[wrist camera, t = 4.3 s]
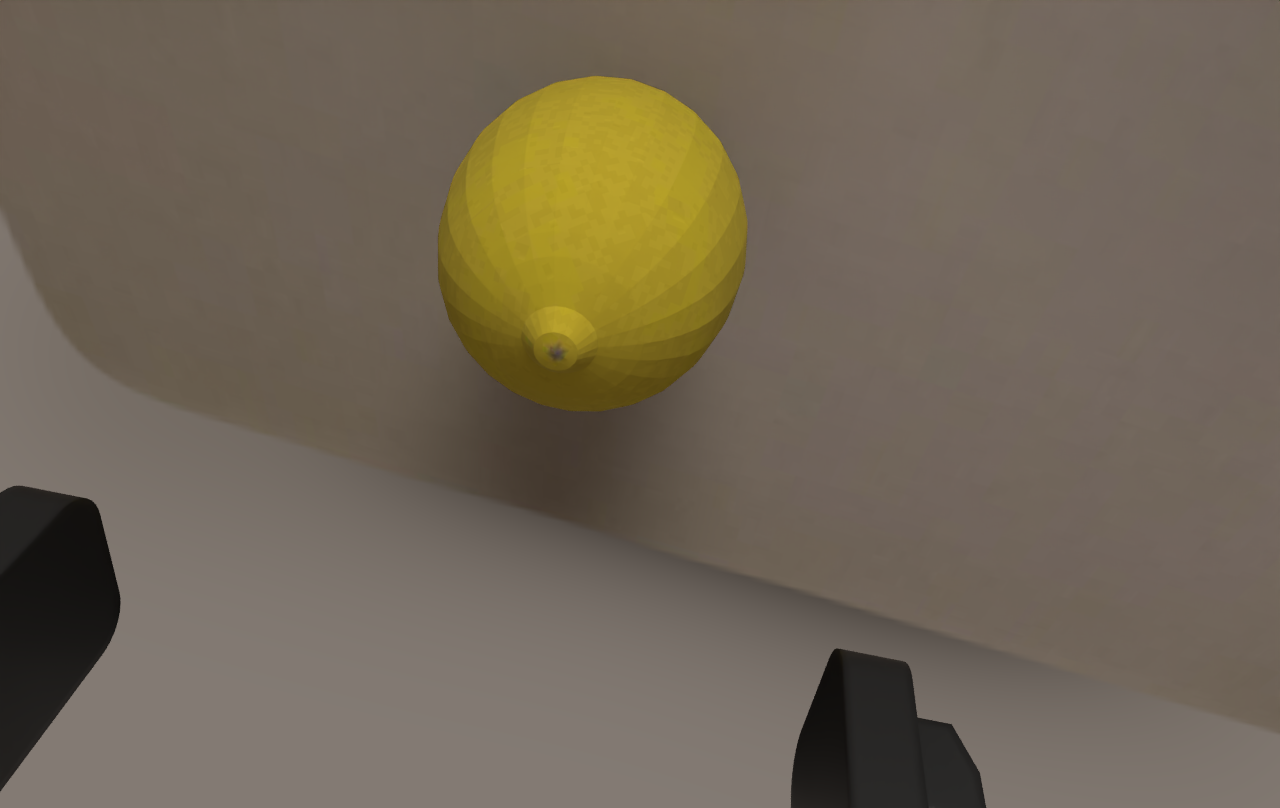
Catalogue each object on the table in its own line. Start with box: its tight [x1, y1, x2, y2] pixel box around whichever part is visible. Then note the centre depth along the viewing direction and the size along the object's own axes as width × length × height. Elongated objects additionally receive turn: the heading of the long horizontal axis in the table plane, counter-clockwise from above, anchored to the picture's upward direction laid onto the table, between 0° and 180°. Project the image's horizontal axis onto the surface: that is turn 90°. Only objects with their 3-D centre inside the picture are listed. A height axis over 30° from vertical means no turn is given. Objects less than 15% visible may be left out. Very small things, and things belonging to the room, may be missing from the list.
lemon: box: [438, 76, 747, 411], centre depth 18 cm, size 6×6×8 cm
